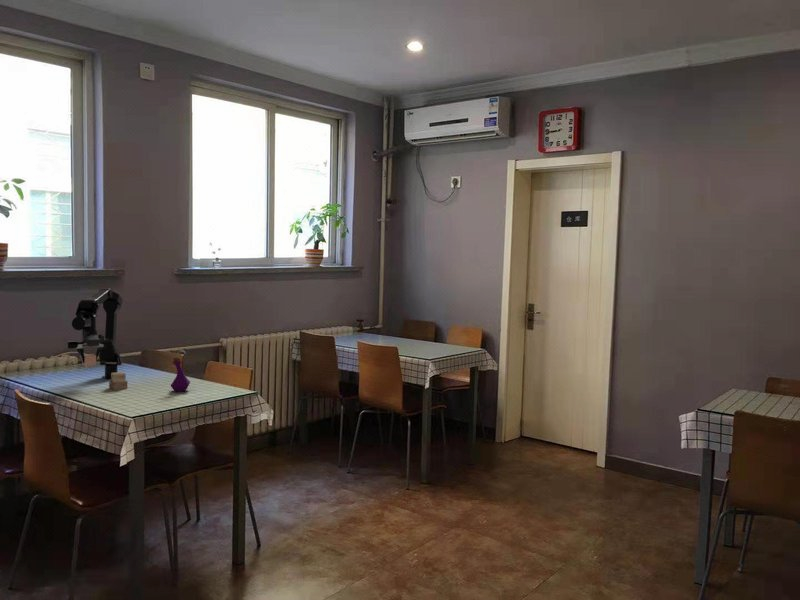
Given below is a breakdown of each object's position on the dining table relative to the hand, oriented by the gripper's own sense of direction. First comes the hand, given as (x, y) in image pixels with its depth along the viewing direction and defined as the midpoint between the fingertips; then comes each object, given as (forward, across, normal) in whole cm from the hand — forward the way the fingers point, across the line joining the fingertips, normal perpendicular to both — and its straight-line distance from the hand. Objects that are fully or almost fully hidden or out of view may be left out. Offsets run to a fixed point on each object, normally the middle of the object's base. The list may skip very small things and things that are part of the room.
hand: (89, 362), depth 300 cm
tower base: (+11, +10, -9) cm, 17 cm away
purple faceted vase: (+11, +30, -30) cm, 43 cm away
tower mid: (+8, +9, -10) cm, 15 cm away
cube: (+1, 0, 0) cm, 1 cm away
